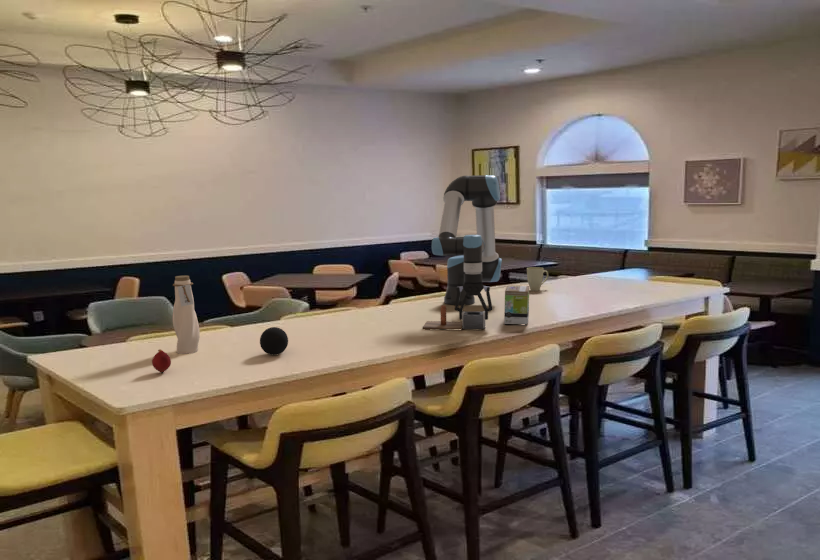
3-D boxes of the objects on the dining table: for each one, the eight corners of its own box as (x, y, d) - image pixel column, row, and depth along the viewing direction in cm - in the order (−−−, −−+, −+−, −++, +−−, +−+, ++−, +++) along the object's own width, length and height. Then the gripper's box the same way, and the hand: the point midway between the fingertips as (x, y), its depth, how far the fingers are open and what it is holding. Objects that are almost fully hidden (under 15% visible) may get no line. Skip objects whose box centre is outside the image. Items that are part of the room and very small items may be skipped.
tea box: (528, 325, 282) (528, 290, 280) (503, 325, 284) (503, 290, 282) (529, 318, 296) (529, 285, 294) (506, 317, 298) (506, 284, 296)
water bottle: (206, 351, 250) (201, 276, 246) (183, 356, 244) (177, 279, 240) (193, 346, 257) (188, 274, 253) (170, 351, 251) (165, 276, 247)
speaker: (276, 359, 237) (274, 331, 235) (254, 356, 242) (253, 329, 240) (294, 352, 246) (293, 325, 244) (273, 349, 250) (271, 323, 249)
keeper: (426, 323, 290) (426, 302, 289) (464, 324, 287) (463, 302, 286) (422, 329, 278) (422, 307, 277) (461, 330, 276) (461, 308, 274)
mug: (541, 292, 360) (541, 269, 358) (524, 290, 365) (524, 268, 364) (548, 289, 369) (549, 267, 368) (531, 287, 375) (531, 266, 373)
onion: (166, 369, 228) (164, 346, 226) (175, 372, 224) (173, 348, 223) (149, 373, 223) (147, 349, 222) (158, 376, 219) (156, 352, 218)
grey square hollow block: (465, 325, 284) (464, 311, 283) (484, 325, 283) (484, 311, 282) (463, 329, 277) (463, 315, 276) (483, 330, 275) (482, 315, 274)
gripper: (446, 274, 274) (447, 329, 278) (498, 274, 271) (498, 329, 274) (448, 271, 282) (449, 325, 285) (499, 271, 278) (499, 325, 281)
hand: (473, 327), depth 279 cm, fingers closed on grey square hollow block, 8 cm apart
